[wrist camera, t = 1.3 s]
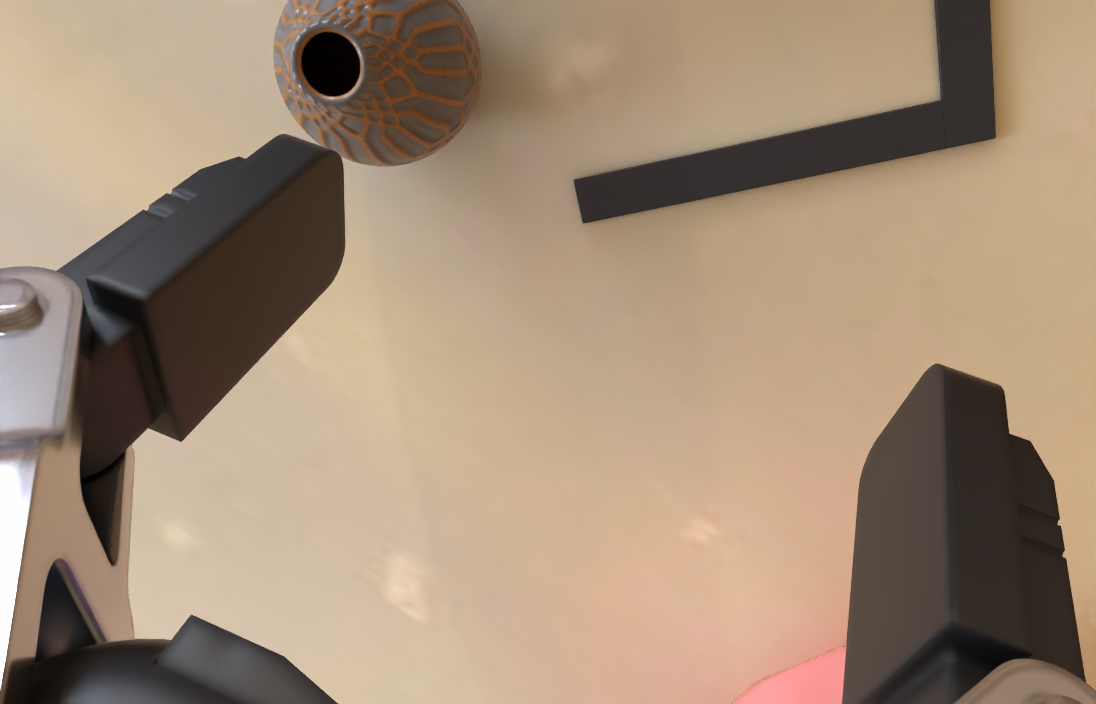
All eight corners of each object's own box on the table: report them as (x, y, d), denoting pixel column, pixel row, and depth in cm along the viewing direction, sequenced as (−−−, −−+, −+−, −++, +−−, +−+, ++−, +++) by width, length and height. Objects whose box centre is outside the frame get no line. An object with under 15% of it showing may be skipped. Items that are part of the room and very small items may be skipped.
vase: (530, 74, 31) (494, 75, 23) (408, 190, 33) (334, 230, 25) (408, -72, 30) (322, -127, 21) (289, 58, 32) (169, 54, 23)
